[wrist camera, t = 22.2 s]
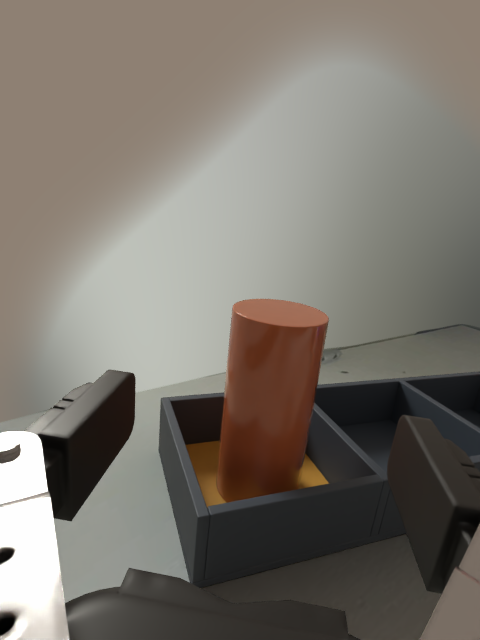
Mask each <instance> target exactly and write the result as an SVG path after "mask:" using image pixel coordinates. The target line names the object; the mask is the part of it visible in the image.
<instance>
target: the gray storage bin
mask: <svg viewBox="0 0 480 640" xmlns="http://www.w3.org/2000/svg"><path fill="white" fill-rule="evenodd" d="M223 401H224V393H213V394H201V395H189V396H176V397H165V398H161V410H160V433H159V453H160V458H161V462H162V466H163V470H164V475H165V479H166V483H167V487H168V491H169V496H170V500H171V504H172V508H173V513H174V517H175V521H176V525H177V529H178V534H179V538H180V542H181V546H182V551H183V555H184V559H185V563H186V567H187V572H188V576H189V580H190V583H191V584H193V585H195V586H197V587H199V588H202V587H205V586H209V585H213V584H217V583H221V582H224V581H228V580H232V579H236V578H239V577H243V576H247V575H251V574H255V573H258V572H262V571H266V570H270V569H273V568H277V567H281V566H285V565H288V564H292V563H296V562H300V561H304V560H307V559H311V558H315V557H319V556H322V555H326V554H330V553H334V552H338V551H341V550H345V549H349V548H353V547H356V546H360V545H364V544H368V543H372V542H375V541H379V540H383V539H387V538H390V537H394V536H398V535H402V534H406V530H405V528H404V525H403V522H402V519H401V516H400V514H399V511H398V508H397V505H396V502H395V500H394V497H393V494H392V491H391V488H390V486H389V482H388V477H387V464H388V459H389V455H390V451H391V447H392V443H393V439H394V436H395V432H396V428H397V424H398V421H399V418H400V417H401V416H402V415H407V416H414V417H421V418H427V419H431V420H432V421H433V423H434V424H435V426H436V427H437V429H438V430H439V432H440V433H441V435H442V436H443V438H444V439H450V440H451V441H452V442H453V443H455V444H456V445H457V446H458V447H460V448H461V449H462V450H463V451H465V452H466V454H467V455H468V457H469V458H470V459H471V461H472V462H473V464H474V465H475V468H477V469H478V471H479V472H480V372H469V373H457V374H445V375H433V376H420V377H408V378H396V379H383V380H371V381H359V382H347V383H335V384H322V385H317V390H316V395H315V401H314V407H313V412H312V418H311V424H310V430H309V435H308V441H307V447H306V452H305V458H304V464H303V469H302V475H301V481H300V486H299V489H297V490H291V491H286V492H281V493H276V494H270V495H265V496H260V497H254V498H249V499H244V500H239V501H233V502H228V503H227V502H226V501H225V500H224V499H223V498H222V497H221V495H220V494H219V492H218V490H217V486H216V474H217V463H218V453H219V443H220V432H221V422H222V412H223Z"/></svg>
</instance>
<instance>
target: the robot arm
mask: <svg viewBox="0 0 480 640" xmlns="http://www.w3.org/2000/svg"><path fill="white" fill-rule="evenodd" d="M134 419H135V376H134V374H133V373H129V372H122V371H116V370H108V371H106V372H105V373H104V374H103V375H102V376H101V377H100V378H99V379H98V380H96V381H95V382H94V383H86V384H84V385H82V386H80V387H77V388H75V389H73V390H72V391H71V392H69V393H68V394H67V395H66V396H65V397H63V399H62V400H60V401H59V402H58V403H56V404H55V405H54V407H53V408H50V409H49V410H48V411H47V412H46V413H45V414H43V415H42V416H41V417H40V418H39V419H37V420H36V421H35V422H34V423H33V424H32V425H30V426H29V427H28V428H27V429H26V430H24V431H12V432H6V433H1V434H0V640H360V639H358V638H356V637H354V636H352V635H350V634H348V629H347V621H346V614H345V611H342V610H337V609H332V608H327V607H322V606H317V605H312V604H307V603H302V602H297V601H292V600H284V601H268V602H253V603H230V602H228V601H225V600H223V599H221V598H219V597H217V596H215V595H213V594H211V593H209V592H207V591H205V590H203V589H201V588H199V587H197V586H195V585H193V584H191V583H189V582H187V581H185V580H183V579H181V578H177V577H172V576H167V575H162V574H157V573H152V572H147V571H142V570H137V569H132V568H129V569H128V571H127V573H126V576H125V578H124V580H123V582H122V585H121V587H113V588H107V589H102V590H98V591H95V592H91V593H88V594H85V595H83V596H80V597H78V598H75V599H73V600H71V601H69V602H67V603H65V602H64V594H63V587H62V580H61V573H60V565H59V558H58V551H57V543H56V536H55V529H54V521H53V518H56V519H62V520H67V521H72V519H73V518H74V517H75V515H76V514H77V512H78V511H79V509H80V508H81V506H82V505H83V504H84V502H85V501H86V499H87V498H88V496H89V495H90V493H91V492H92V491H93V489H94V488H95V486H96V485H97V483H98V482H99V480H100V479H101V478H102V476H103V475H104V473H105V472H106V470H107V469H108V467H109V466H110V465H111V463H112V462H113V460H114V459H115V457H116V456H117V455H118V453H119V452H120V450H121V449H122V447H123V446H124V444H125V443H126V442H127V440H128V439H129V437H130V435H131V432H132V429H133V425H134ZM387 477H388V482H389V486H390V488H391V491H392V494H393V497H394V500H395V502H396V505H397V508H398V511H399V514H400V516H401V519H402V522H403V525H404V528H405V530H406V533H407V536H408V539H409V542H410V544H411V547H412V550H413V553H414V556H415V558H416V561H417V564H418V567H419V570H420V572H421V575H422V578H423V581H424V584H425V586H426V589H427V591H430V592H436V593H441V594H442V595H441V597H440V599H439V601H438V603H437V605H436V607H435V609H434V611H433V613H432V615H431V617H430V619H429V621H428V623H427V625H426V627H425V629H424V631H423V633H422V635H421V637H420V639H419V640H480V472H479V471H478V469H477V468H475V465H474V464H473V462H472V461H471V459H470V458H469V457H468V455H467V454H466V452H465V451H463V450H462V449H461V448H460V447H458V446H457V445H456V444H455V443H453V442H452V441H451V440H450V439H444V438H443V436H442V435H441V433H440V432H439V430H438V429H437V427H436V426H435V424H434V423H433V421H432V420H431V419H427V418H421V417H414V416H407V415H402V416H401V417H400V418H399V421H398V424H397V428H396V432H395V436H394V439H393V443H392V447H391V451H390V455H389V459H388V464H387Z"/></svg>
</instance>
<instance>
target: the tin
mask: <svg viewBox="0 0 480 640" xmlns="http://www.w3.org/2000/svg"><path fill="white" fill-rule="evenodd" d="M328 322H329V318H328V316H327V315H326V314H325V313H323V312H322V311H320V310H318V309H316V308H313V307H310V306H307V305H303V304H300V303H295V302H290V301H283V300H273V299H250V300H243V301H240V302H237V303H236V304H234V305H233V308H232V318H231V329H230V339H229V350H228V360H227V370H226V381H225V391H224V401H223V412H222V422H221V432H220V443H219V453H218V463H217V474H216V486H217V490H218V492H219V494H220V495H221V497H222V498H223V499H224V500H225V501H226V502H227V503H228V502H233V501H239V500H244V499H249V498H254V497H260V496H265V495H270V494H276V493H281V492H286V491H291V490H297V489H299V486H300V481H301V475H302V469H303V464H304V458H305V452H306V447H307V441H308V435H309V430H310V424H311V418H312V412H313V407H314V401H315V395H316V390H317V384H318V378H319V373H320V367H321V361H322V356H323V350H324V344H325V338H326V333H327V327H328Z"/></svg>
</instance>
